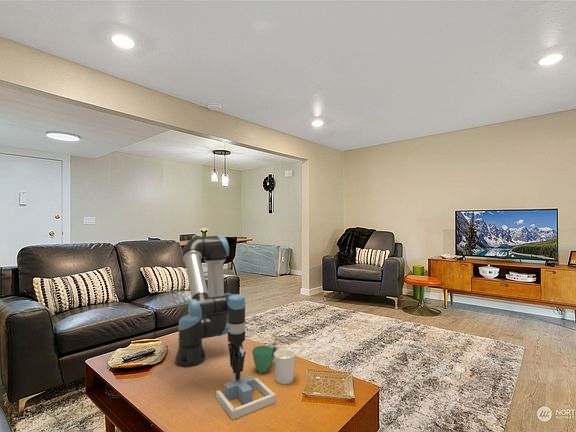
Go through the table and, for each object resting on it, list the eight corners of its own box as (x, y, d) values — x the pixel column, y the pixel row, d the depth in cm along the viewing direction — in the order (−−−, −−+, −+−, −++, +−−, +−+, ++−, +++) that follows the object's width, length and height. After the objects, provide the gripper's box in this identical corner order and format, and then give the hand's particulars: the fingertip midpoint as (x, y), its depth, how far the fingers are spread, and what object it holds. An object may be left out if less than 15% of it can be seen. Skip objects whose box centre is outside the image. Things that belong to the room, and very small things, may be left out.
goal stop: (216, 398, 127) (216, 391, 127) (256, 384, 137) (256, 377, 137) (232, 420, 113) (232, 411, 113) (275, 402, 124) (275, 394, 124)
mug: (263, 377, 143) (263, 356, 143) (248, 371, 148) (248, 351, 148) (282, 365, 155) (282, 345, 155) (267, 360, 160) (267, 340, 160)
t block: (224, 395, 128) (224, 383, 128) (249, 386, 135) (249, 375, 135) (234, 408, 120) (234, 395, 120) (261, 397, 127) (261, 385, 127)
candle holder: (298, 376, 144) (298, 351, 144) (289, 387, 135) (289, 360, 135) (279, 372, 148) (279, 347, 148) (270, 382, 139) (270, 356, 139)
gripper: (222, 328, 136) (222, 381, 136) (234, 338, 125) (235, 395, 125) (237, 325, 140) (238, 376, 140) (251, 334, 129) (251, 390, 129)
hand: (236, 385), depth 132 cm, fingers closed
